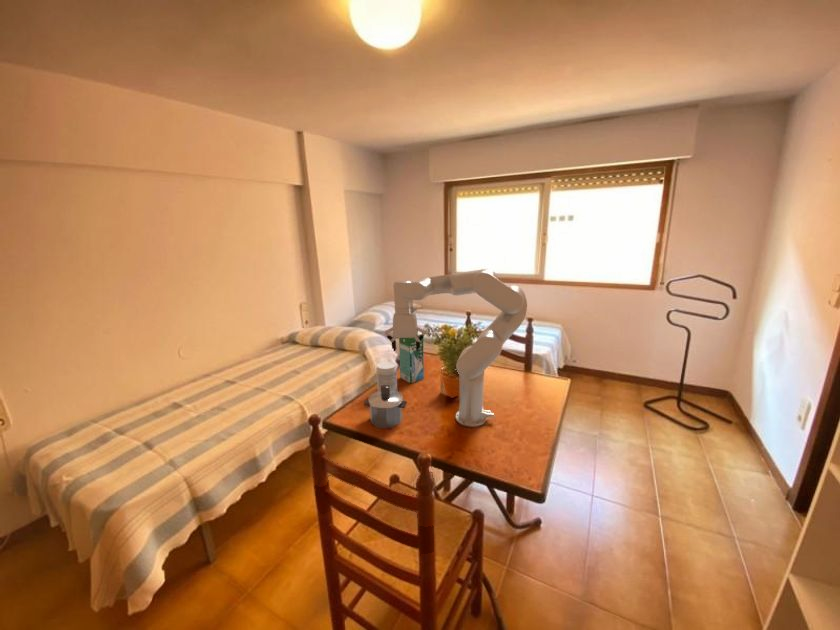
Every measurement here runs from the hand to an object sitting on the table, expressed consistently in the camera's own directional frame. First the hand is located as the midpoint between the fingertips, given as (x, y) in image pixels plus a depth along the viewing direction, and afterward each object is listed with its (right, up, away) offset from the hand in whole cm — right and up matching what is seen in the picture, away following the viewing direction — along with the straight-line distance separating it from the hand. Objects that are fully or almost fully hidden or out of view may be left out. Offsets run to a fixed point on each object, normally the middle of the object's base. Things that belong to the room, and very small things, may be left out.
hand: (406, 350), depth 142 cm
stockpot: (-8, -29, -1) cm, 30 cm away
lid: (-8, -21, -3) cm, 23 cm away
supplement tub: (-10, -23, +22) cm, 34 cm away
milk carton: (+2, -19, +38) cm, 42 cm away
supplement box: (+20, -24, +19) cm, 37 cm away
